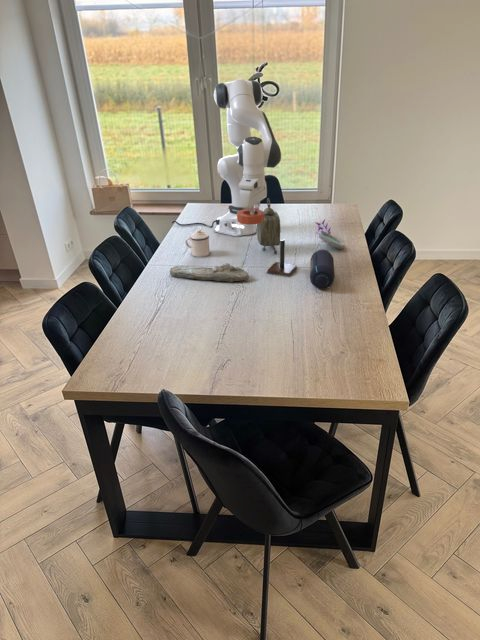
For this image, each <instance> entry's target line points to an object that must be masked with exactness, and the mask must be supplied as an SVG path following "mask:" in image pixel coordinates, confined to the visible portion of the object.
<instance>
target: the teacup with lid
mask: <svg viewBox="0 0 480 640" xmlns="http://www.w3.org/2000/svg"><path fill="white" fill-rule="evenodd" d="M209 235H210V234H209V233H207V232H204V231H202V230H201V229H197V230H196V231H195V232H193V233H190V235H189V237H187V238H186V239H185V240H184V243H185V246H186V247H187V248H189V249H191V255H192V256H193V257H196V258H204V257H207V256H209V255H210V253H211V252H210V251H211V250H210V236H209ZM188 241H190V245H189V243H188Z"/></svg>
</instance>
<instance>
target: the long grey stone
mask: <svg viewBox="0 0 480 640" xmlns="http://www.w3.org/2000/svg"><path fill="white" fill-rule="evenodd" d="M169 275H170V276H171V277H178V278H184V279H191V280H192V279H195V280H197V281H199V280H201V281H210V280H211V281H216V282H228V283H229V282H231V283H233V282H240V281H247V280H248V279H249V276H250V274H249V272H248V271H246V270H245V269H242V268H241V267H238V266H234V265H231V264H230V263H228V262H227V263H224V264H222V265H219V266H218V265H216V266H212V267H207V266H206V267H205V266H189V265H175V266H173V267H170V269H169Z"/></svg>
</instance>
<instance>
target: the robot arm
mask: <svg viewBox="0 0 480 640" xmlns="http://www.w3.org/2000/svg"><path fill="white" fill-rule="evenodd" d="M213 99H214V102H215V104H216V106H217V107H218V108H219V109H221V110H222V109H224V110H226V126H227V127H226V128H227V139H228V142H229V143H230V144H231V145H232V146H234V147H236V153H237V154H232V155H226V156H224V157H222V158H219V160H218V161H217V167H216V168H217V173H218V175H219V177H220V178H222V179H223V180H225V181H226V183H227V184H228V186H229V189H230V195H231V204H229V205H228V207H227V210H229V211H228V212H227V213H225V214H224V215H223V216H219V217H217V218H216V219H215V220H213V221H212V223H211V225H210V226H209V225H207V224H206V223H203V222H192V223H185V224H183V223H180V222H178V221H176V220H173V221H171V224H174V223H176V224H177V225H179V226H181V227H185V226H186V227H187V226H192V225H202V226H204V227H209V228H213V227H214V224H215V225H216V227H215V228H214V232H215V233H220V234H223V235H229V236H232V237H241V236H250V235H253V234H255V233H257V225H256V224H242V223H239V222H238V221H237V212H238V211H240V210H243V209H249V210H250V215H254V214H255V210H254V209H259V210H260V205H261V201H264V199H265V198H267V195H268V188H267V181H266V173H265V172H266V171H265V168H270V169H271V168H273V169H274V168H275V167H277V166H278V165H279V164H280V162H281V161H282V152H281V148H280V145H279V144H278V141H277V139H276V137H275V135H274V132H273V130H272V127H271V125H270V122H269V119H268V117H267V114H266V113H265V111H263V110H261V109H260V108H259V105H260V104H261V103H262V99H263V89H262V86H261V83H260V82H259V81H258V80H252V79H251V80H246V79H244V78H236V79H234V80H233V81H228V82H219V83H217V84H216V85H215V87H214V90H213ZM251 128H252V129H254V130H257V131H258V132H259V133H260V134H261V137H262V138H261V137H259V136H252V131H251Z"/></svg>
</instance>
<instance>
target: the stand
mask: <svg viewBox="0 0 480 640" xmlns="http://www.w3.org/2000/svg"><path fill="white" fill-rule="evenodd" d="M285 245H286V240H285V239H283V238H280V245H279V262H278V261H275V262H274V263H273V264H272V265H271V266H270V267H269V268H268V269H267V274H270V275H275V276H276V275H277V276H284V277H290V276H291V275H292V274H293V273H294V272H295V270H297V264H293V263H285V253H286V250H285V249H286V246H285Z"/></svg>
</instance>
